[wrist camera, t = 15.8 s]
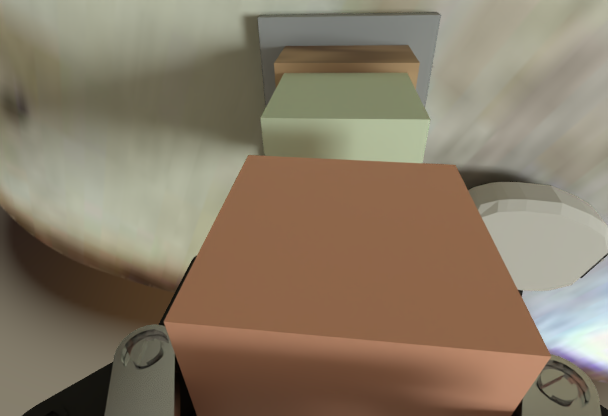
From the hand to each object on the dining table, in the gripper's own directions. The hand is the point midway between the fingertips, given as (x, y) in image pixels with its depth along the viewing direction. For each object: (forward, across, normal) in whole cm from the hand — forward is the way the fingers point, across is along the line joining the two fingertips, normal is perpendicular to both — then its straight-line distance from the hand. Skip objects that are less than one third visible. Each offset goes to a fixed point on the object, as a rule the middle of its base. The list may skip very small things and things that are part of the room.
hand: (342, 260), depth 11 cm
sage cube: (+10, 0, 0) cm, 10 cm away
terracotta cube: (+1, 0, 0) cm, 1 cm away
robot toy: (+15, -12, +12) cm, 23 cm away
